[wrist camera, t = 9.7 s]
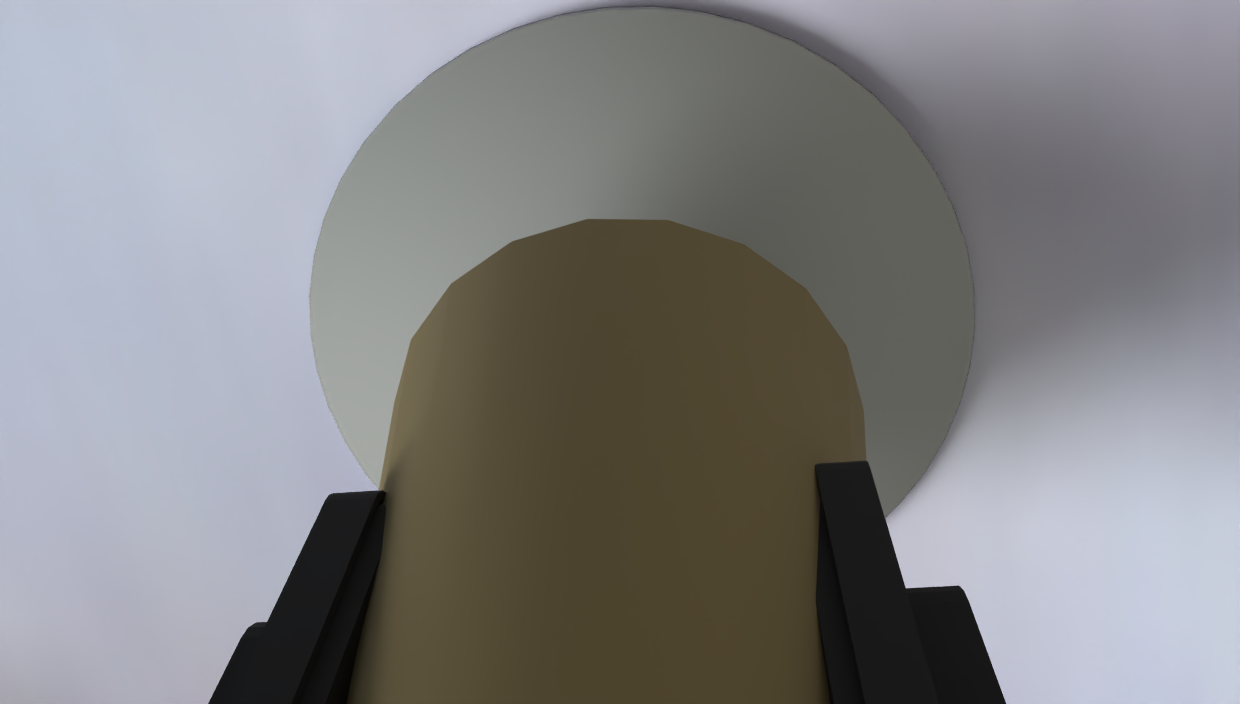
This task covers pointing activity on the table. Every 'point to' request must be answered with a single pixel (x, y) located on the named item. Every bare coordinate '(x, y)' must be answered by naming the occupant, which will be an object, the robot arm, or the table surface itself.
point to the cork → (609, 479)
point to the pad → (652, 204)
